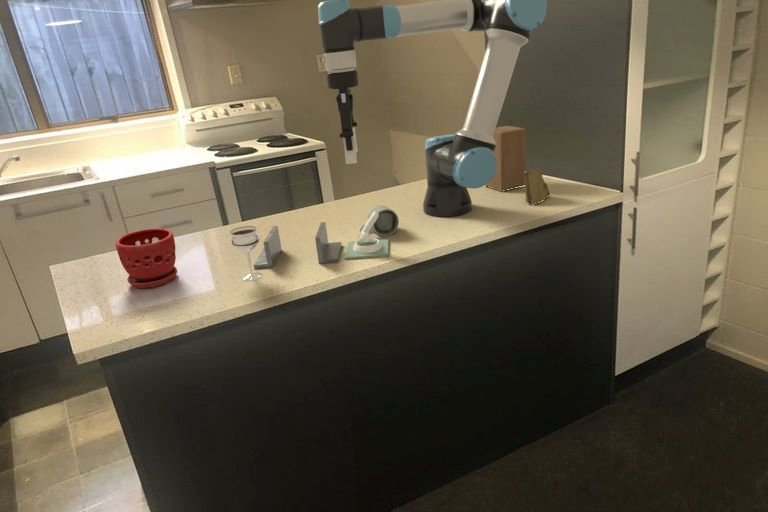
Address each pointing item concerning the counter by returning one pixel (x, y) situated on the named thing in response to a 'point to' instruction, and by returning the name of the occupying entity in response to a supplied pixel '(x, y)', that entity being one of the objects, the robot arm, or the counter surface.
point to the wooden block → (509, 158)
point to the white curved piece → (368, 237)
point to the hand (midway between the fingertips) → (352, 157)
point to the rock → (535, 187)
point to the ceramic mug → (383, 221)
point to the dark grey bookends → (273, 248)
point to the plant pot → (148, 257)
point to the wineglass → (246, 245)
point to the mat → (380, 253)
